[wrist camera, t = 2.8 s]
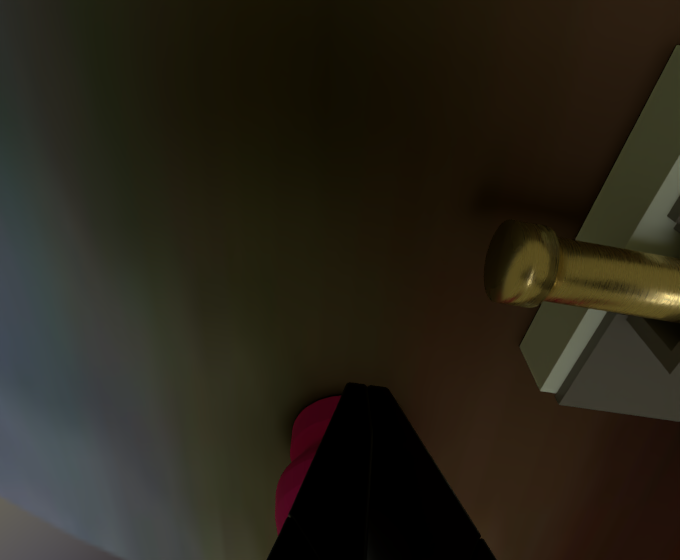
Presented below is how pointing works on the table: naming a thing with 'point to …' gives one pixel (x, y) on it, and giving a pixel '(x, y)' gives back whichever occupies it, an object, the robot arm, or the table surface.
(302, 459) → the pepper mill
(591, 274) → the hinge pin
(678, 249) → the hinge board
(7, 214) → the table surface
